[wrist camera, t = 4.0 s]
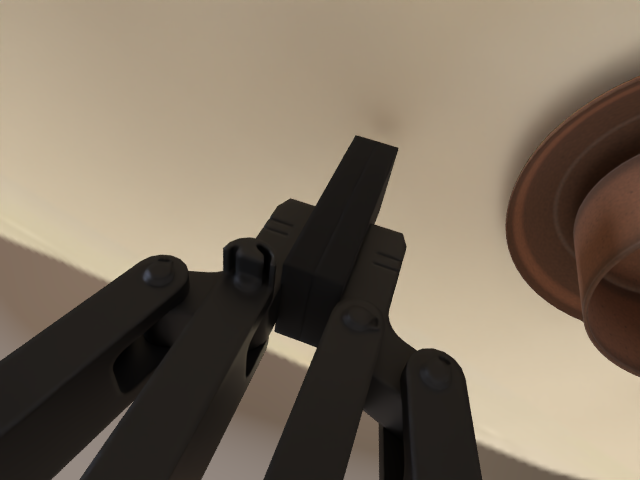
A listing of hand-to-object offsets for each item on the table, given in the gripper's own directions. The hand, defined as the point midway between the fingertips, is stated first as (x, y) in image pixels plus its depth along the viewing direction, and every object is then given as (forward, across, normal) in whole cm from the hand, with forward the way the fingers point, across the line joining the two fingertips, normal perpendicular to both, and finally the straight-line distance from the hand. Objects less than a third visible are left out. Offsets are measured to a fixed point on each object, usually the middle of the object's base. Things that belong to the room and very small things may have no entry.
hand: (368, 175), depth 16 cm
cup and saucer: (+5, +11, 0) cm, 12 cm away
